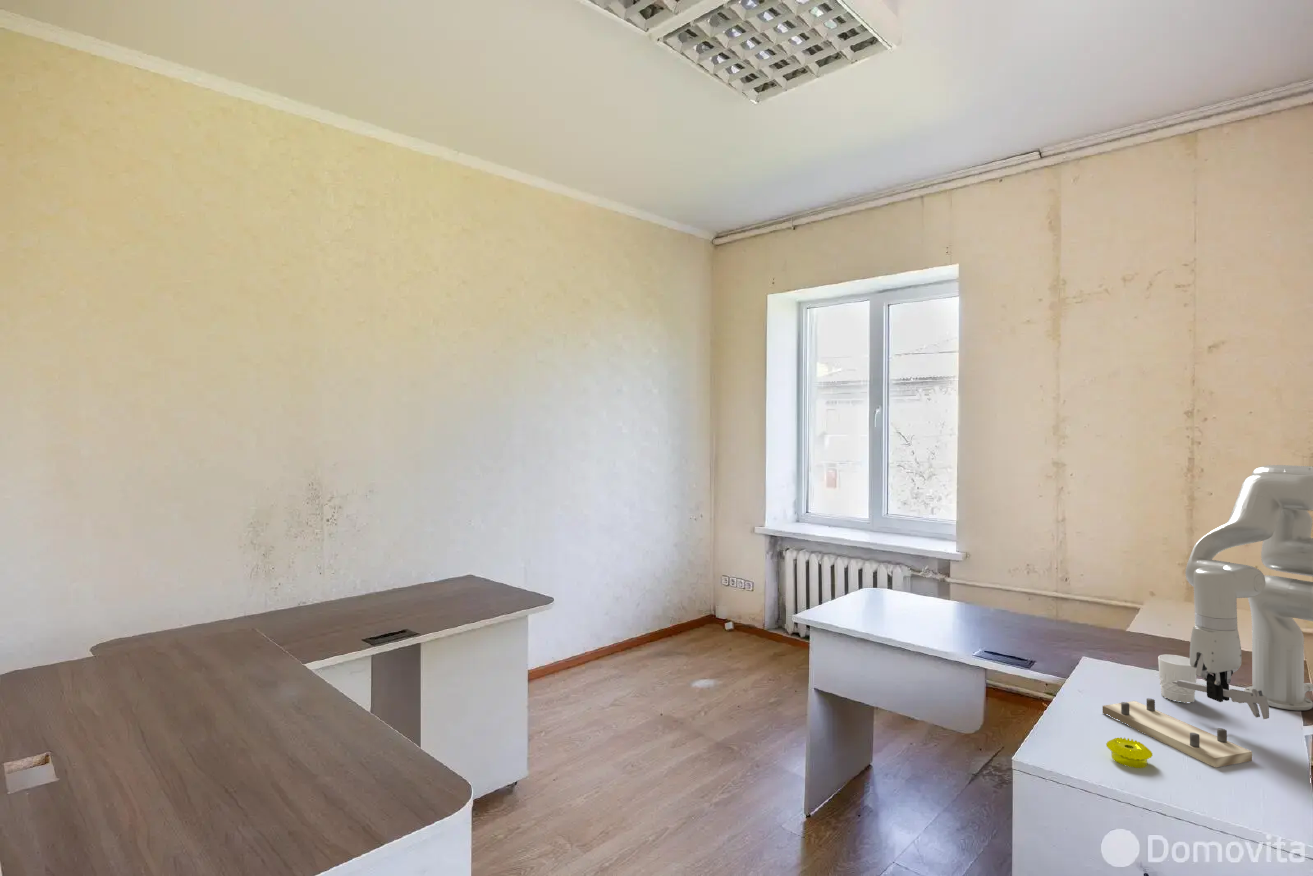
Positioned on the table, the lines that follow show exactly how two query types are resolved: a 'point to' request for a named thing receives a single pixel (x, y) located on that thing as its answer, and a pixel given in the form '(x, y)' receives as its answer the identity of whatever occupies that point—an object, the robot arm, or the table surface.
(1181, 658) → the white cup
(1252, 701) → the caliper
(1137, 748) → the gear
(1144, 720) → the tool rest
